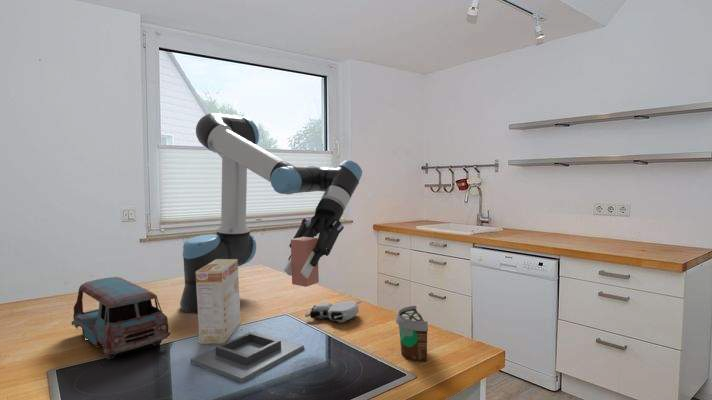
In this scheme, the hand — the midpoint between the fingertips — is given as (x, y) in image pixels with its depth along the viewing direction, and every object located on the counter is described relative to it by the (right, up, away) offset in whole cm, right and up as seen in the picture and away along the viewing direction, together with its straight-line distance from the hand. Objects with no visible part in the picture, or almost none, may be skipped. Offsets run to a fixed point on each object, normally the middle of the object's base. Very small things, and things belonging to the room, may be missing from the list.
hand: (295, 274), depth 109 cm
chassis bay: (-11, -19, -6) cm, 22 cm away
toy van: (-48, -19, +5) cm, 52 cm away
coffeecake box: (-22, -18, +9) cm, 30 cm away
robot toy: (+9, -17, +19) cm, 27 cm away
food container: (+28, -18, -7) cm, 35 cm away
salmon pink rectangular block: (+2, -3, +3) cm, 5 cm away
